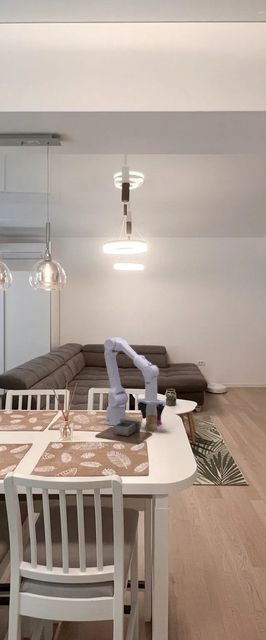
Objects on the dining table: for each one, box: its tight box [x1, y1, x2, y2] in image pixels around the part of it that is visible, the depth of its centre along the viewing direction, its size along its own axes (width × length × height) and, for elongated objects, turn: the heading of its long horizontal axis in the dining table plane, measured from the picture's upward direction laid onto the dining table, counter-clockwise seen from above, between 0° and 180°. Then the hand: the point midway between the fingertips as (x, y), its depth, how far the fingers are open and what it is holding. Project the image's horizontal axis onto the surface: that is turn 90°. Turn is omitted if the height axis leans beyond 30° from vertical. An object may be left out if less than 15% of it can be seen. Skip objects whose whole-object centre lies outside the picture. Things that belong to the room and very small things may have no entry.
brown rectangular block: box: [145, 415, 158, 433], centre depth 183 cm, size 4×4×7 cm
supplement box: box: [146, 404, 162, 427], centre depth 193 cm, size 6×6×12 cm
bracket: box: [94, 418, 153, 445], centre depth 176 cm, size 22×14×6 cm, turn 62°
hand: (151, 419), depth 183 cm, fingers open, 7 cm apart
